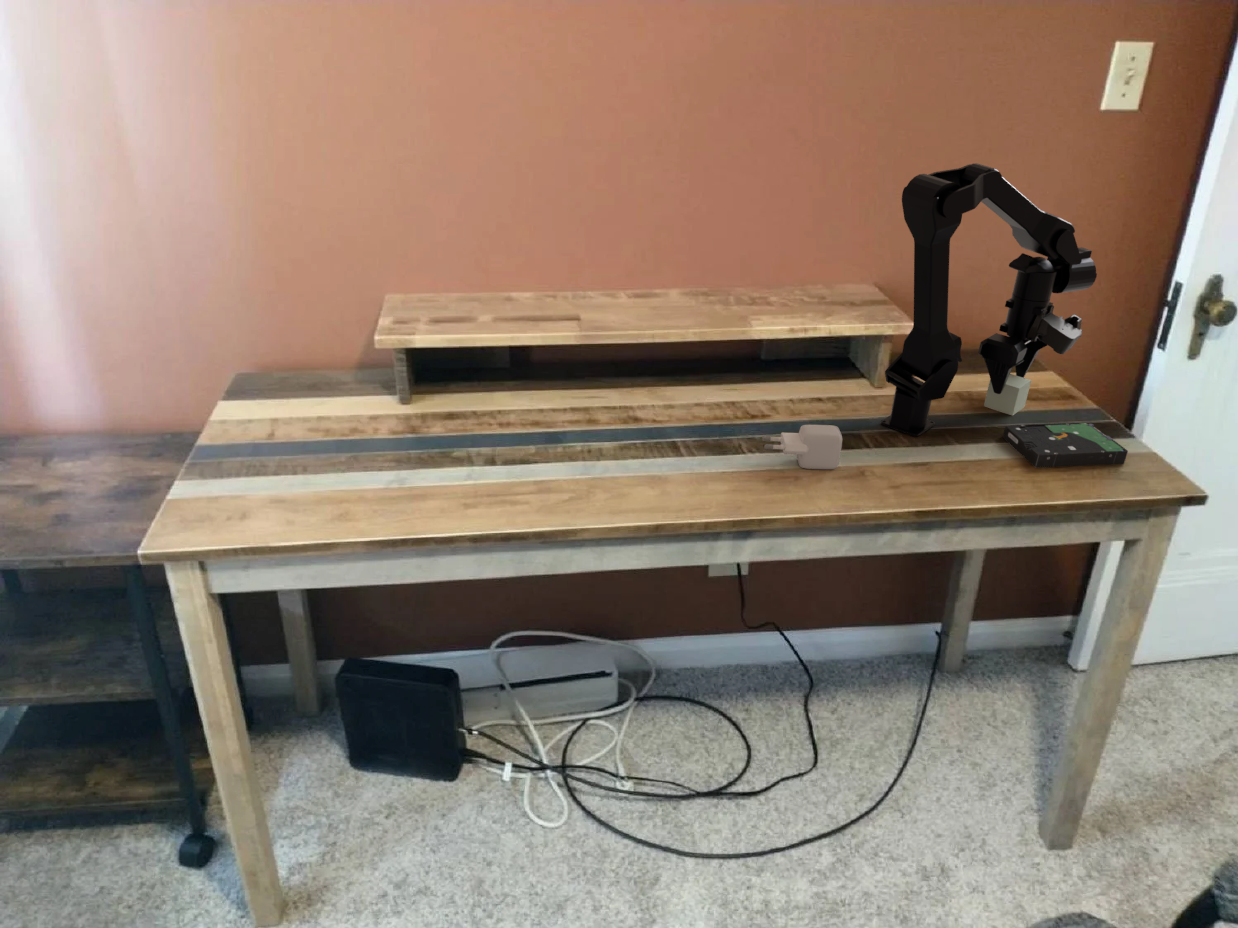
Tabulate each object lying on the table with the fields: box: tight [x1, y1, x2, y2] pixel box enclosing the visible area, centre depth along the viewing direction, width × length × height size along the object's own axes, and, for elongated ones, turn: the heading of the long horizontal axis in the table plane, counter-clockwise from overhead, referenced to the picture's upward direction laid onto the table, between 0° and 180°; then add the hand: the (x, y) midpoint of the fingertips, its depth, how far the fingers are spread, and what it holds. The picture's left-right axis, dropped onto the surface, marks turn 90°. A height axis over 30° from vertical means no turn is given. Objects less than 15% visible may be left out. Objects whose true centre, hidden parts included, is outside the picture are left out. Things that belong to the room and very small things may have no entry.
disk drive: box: [1002, 422, 1129, 469], centre depth 150 cm, size 10×3×15 cm
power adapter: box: [761, 424, 843, 470], centre depth 142 cm, size 11×5×6 cm, turn 90°
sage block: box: [983, 373, 1032, 417], centre depth 163 cm, size 5×5×5 cm
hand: (1008, 385), depth 162 cm, fingers open, 9 cm apart
